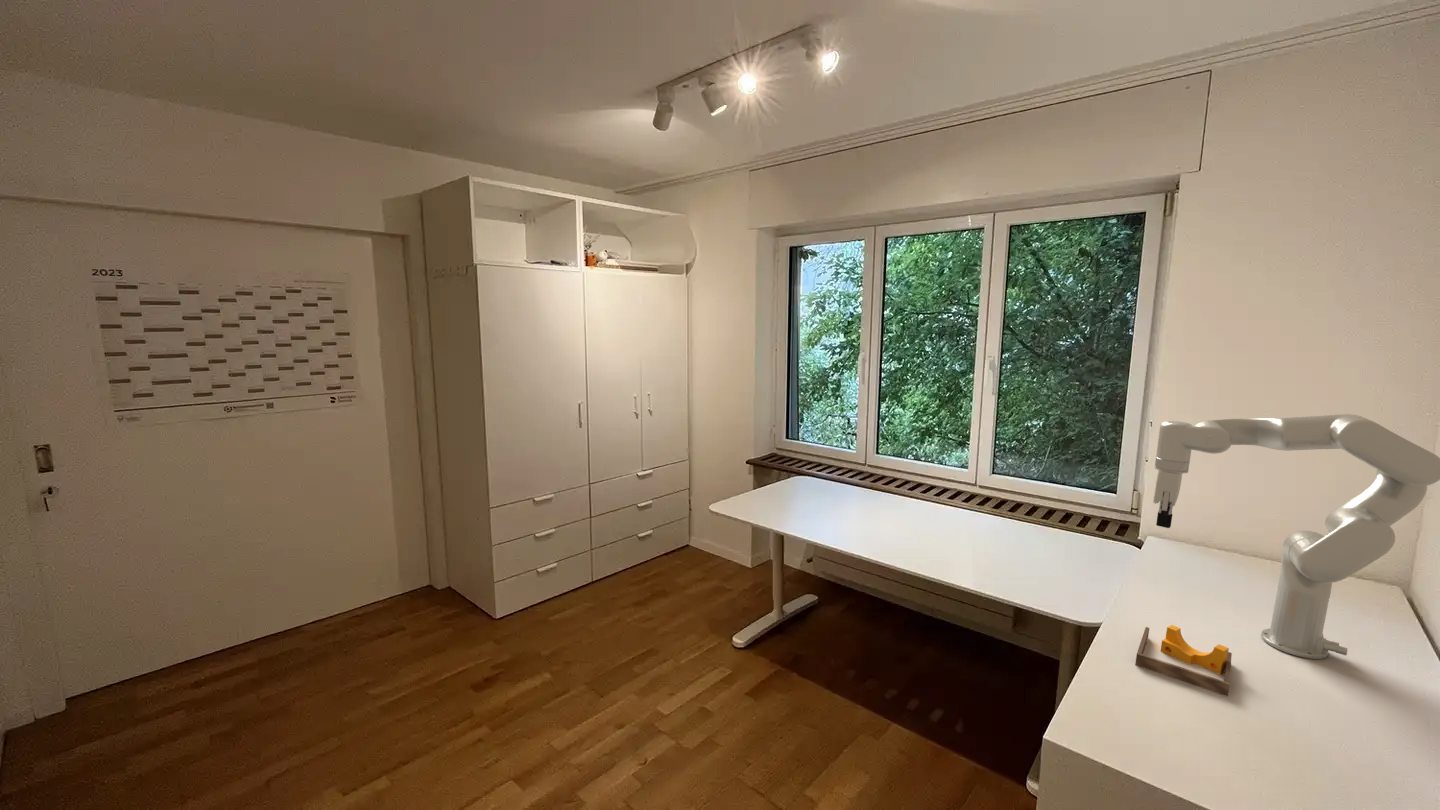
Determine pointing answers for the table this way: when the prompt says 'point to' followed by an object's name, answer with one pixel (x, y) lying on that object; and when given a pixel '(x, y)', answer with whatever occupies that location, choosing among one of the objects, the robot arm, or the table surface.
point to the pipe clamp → (1193, 651)
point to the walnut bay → (1183, 670)
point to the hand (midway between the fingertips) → (1163, 526)
